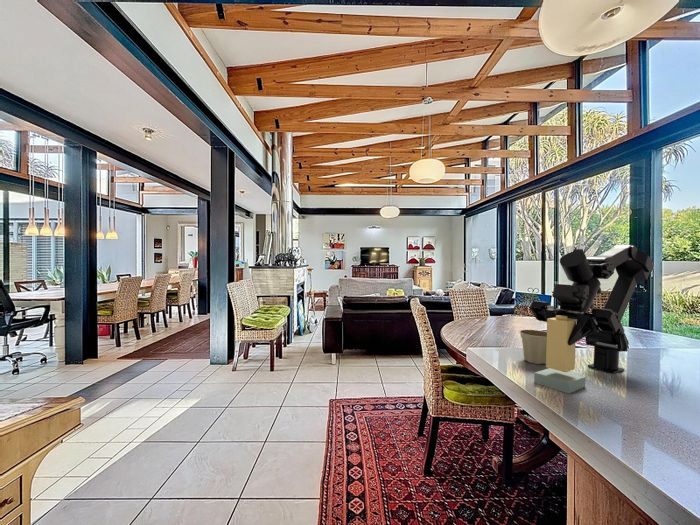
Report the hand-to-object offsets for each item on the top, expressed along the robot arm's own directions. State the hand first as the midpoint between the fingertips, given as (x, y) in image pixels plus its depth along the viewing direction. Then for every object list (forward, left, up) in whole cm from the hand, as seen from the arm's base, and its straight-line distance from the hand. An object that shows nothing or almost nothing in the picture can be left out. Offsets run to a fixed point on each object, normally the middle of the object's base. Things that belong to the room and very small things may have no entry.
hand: (558, 341), depth 84 cm
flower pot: (-14, -15, -11) cm, 24 cm away
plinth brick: (-1, 0, -11) cm, 11 cm away
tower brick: (-1, 0, -7) cm, 7 cm away
